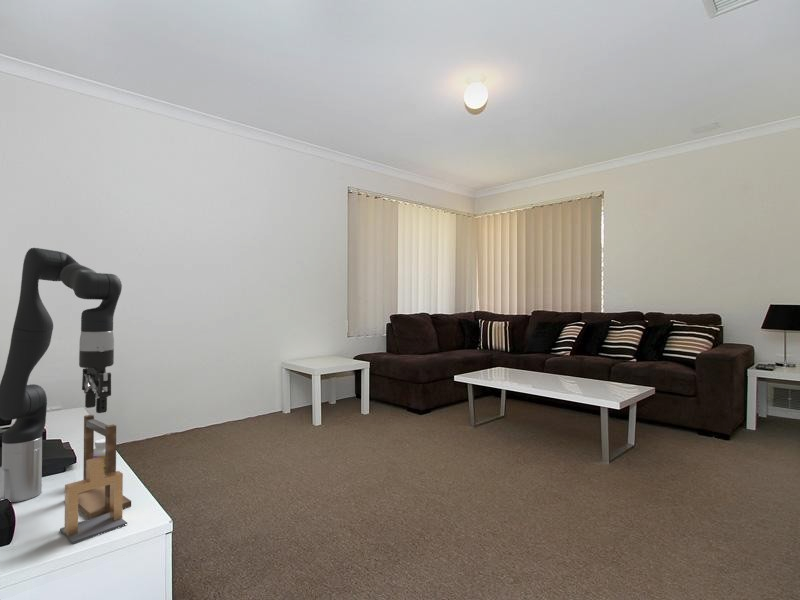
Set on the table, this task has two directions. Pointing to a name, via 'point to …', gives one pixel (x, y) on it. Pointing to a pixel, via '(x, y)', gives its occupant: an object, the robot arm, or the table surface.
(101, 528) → the mat
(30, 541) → the table surface
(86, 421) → the stand
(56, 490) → the table surface
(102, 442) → the supplement bottle
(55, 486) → the table surface
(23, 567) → the table surface
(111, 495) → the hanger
